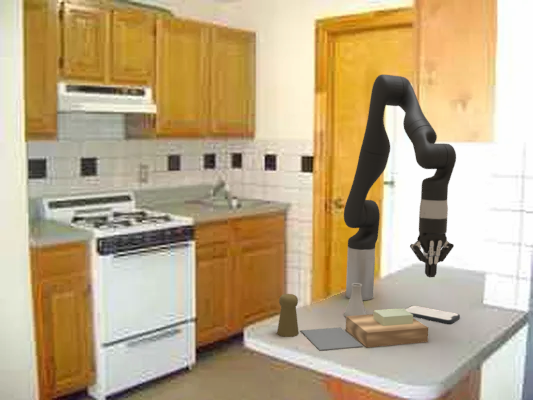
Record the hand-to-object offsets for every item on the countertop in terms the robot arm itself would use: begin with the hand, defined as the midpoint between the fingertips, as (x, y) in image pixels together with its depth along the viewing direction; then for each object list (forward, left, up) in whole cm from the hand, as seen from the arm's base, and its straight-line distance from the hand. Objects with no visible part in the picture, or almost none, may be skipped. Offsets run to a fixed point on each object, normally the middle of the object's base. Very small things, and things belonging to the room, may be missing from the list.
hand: (430, 276), depth 166 cm
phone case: (-13, +9, -17) cm, 23 cm away
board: (0, -13, -16) cm, 21 cm away
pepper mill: (-8, -39, -16) cm, 43 cm away
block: (0, -11, -11) cm, 16 cm away
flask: (-18, -14, -16) cm, 28 cm away
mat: (-1, -29, -16) cm, 33 cm away
